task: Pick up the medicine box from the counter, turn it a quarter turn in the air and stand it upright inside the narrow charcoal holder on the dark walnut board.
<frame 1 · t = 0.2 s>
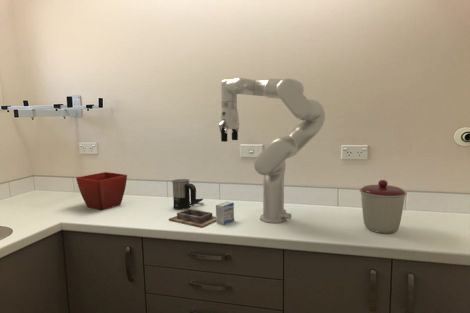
hand: (229, 140, 166), 36 cm above the countertop, tool pointing down, fingers open, 9 cm apart
milk frother: (188, 206, 183), on the countertop
plant pot: (103, 206, 185), on the countertop
holder: (194, 219, 159), on the countertop
medicine box: (225, 222, 155), on the countertop
canister: (381, 229, 142), on the countertop
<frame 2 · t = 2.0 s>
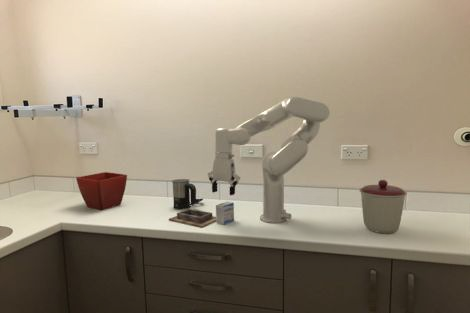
hand: (223, 193, 153), 13 cm above the countertop, tool pointing down, fingers open, 9 cm apart
nothing on the countertop moved.
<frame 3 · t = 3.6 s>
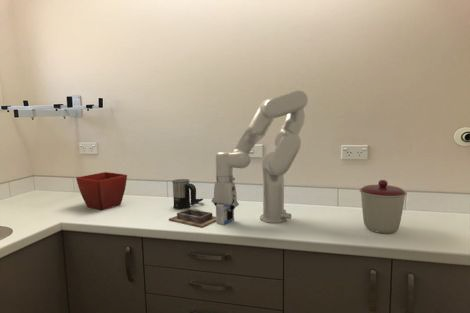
hand: (225, 217, 155), 2 cm above the countertop, tool pointing down, fingers closed on medicine box, 4 cm apart
medicine box: (225, 222, 155), on the countertop, touching gripper
everything else where it was.
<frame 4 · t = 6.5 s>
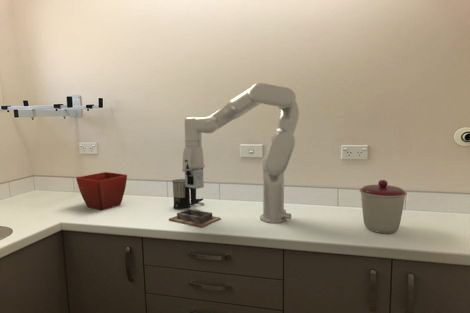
hand: (194, 183, 156), 18 cm above the countertop, tool pointing down, fingers closed on medicine box, 4 cm apart
medicine box: (194, 187, 157), point 15 cm above the countertop, touching gripper
everything else where it was.
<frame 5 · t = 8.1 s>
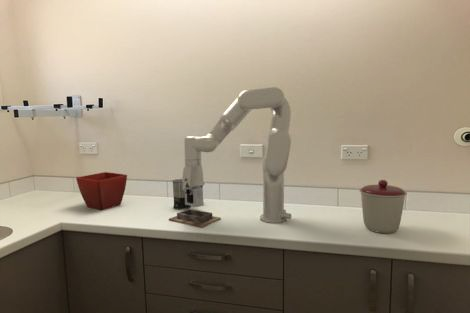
hand: (193, 201, 157), 9 cm above the countertop, tool pointing down, fingers closed on medicine box, 4 cm apart
medicine box: (194, 205, 158), point 7 cm above the countertop, touching gripper
everything else where it was.
when the fingers open (4 cm above the countertop, at t = 9.4 s): medicine box drops 1 cm, resting on holder.
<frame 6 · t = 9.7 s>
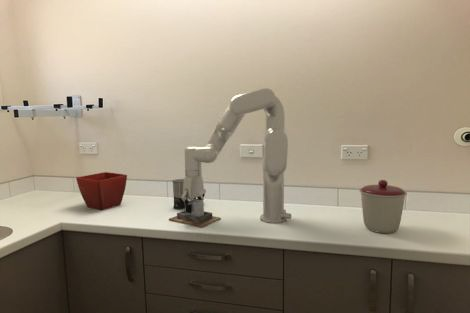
hand: (194, 210, 158), 5 cm above the countertop, tool pointing down, fingers open, 7 cm apart
medicine box: (194, 218, 158), point 1 cm above the countertop, touching holder
everything else where it was.
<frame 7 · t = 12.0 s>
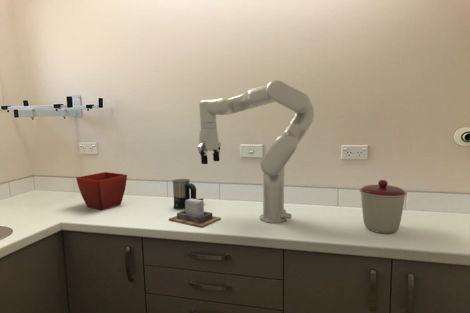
hand: (210, 162, 161), 26 cm above the countertop, tool pointing down, fingers open, 9 cm apart
nothing on the countertop moved.
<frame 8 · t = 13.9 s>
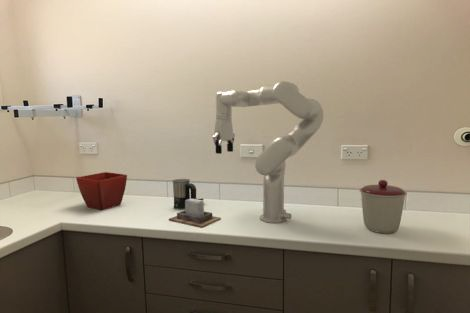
hand: (224, 152, 167), 30 cm above the countertop, tool pointing down, fingers open, 9 cm apart
nothing on the countertop moved.
at the end: medicine box 0.1 cm off-centre on the holder, point 0.6 cm above the holder's base; medicine box tilted 0°; the gripper is holding nothing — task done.
